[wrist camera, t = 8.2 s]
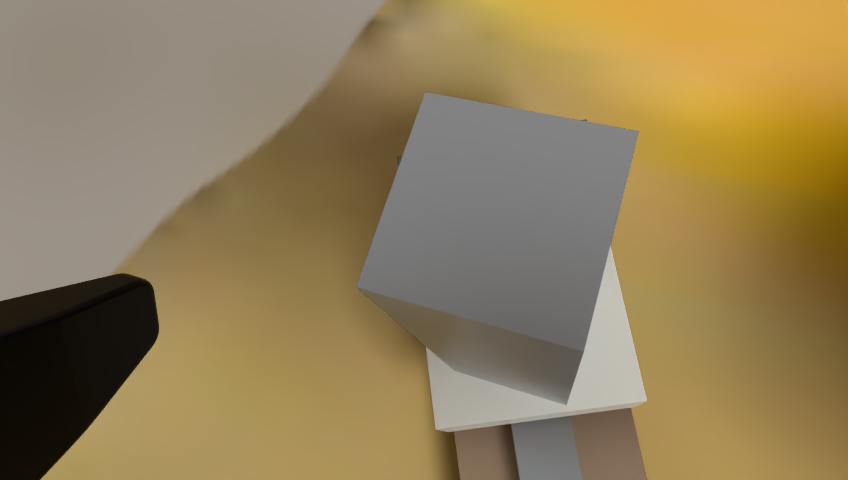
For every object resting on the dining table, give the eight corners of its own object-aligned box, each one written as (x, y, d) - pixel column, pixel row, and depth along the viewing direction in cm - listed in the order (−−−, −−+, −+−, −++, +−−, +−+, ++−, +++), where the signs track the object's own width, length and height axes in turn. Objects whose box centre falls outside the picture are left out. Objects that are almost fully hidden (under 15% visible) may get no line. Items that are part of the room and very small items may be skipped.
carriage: (635, 407, 16) (760, 338, 7) (448, 431, 17) (312, 404, 7) (603, 262, 18) (665, 30, 8) (430, 290, 18) (296, 110, 9)
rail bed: (667, 601, 17) (724, 675, 11) (485, 617, 18) (454, 695, 12) (578, 200, 21) (587, 107, 15) (433, 226, 22) (391, 146, 16)
